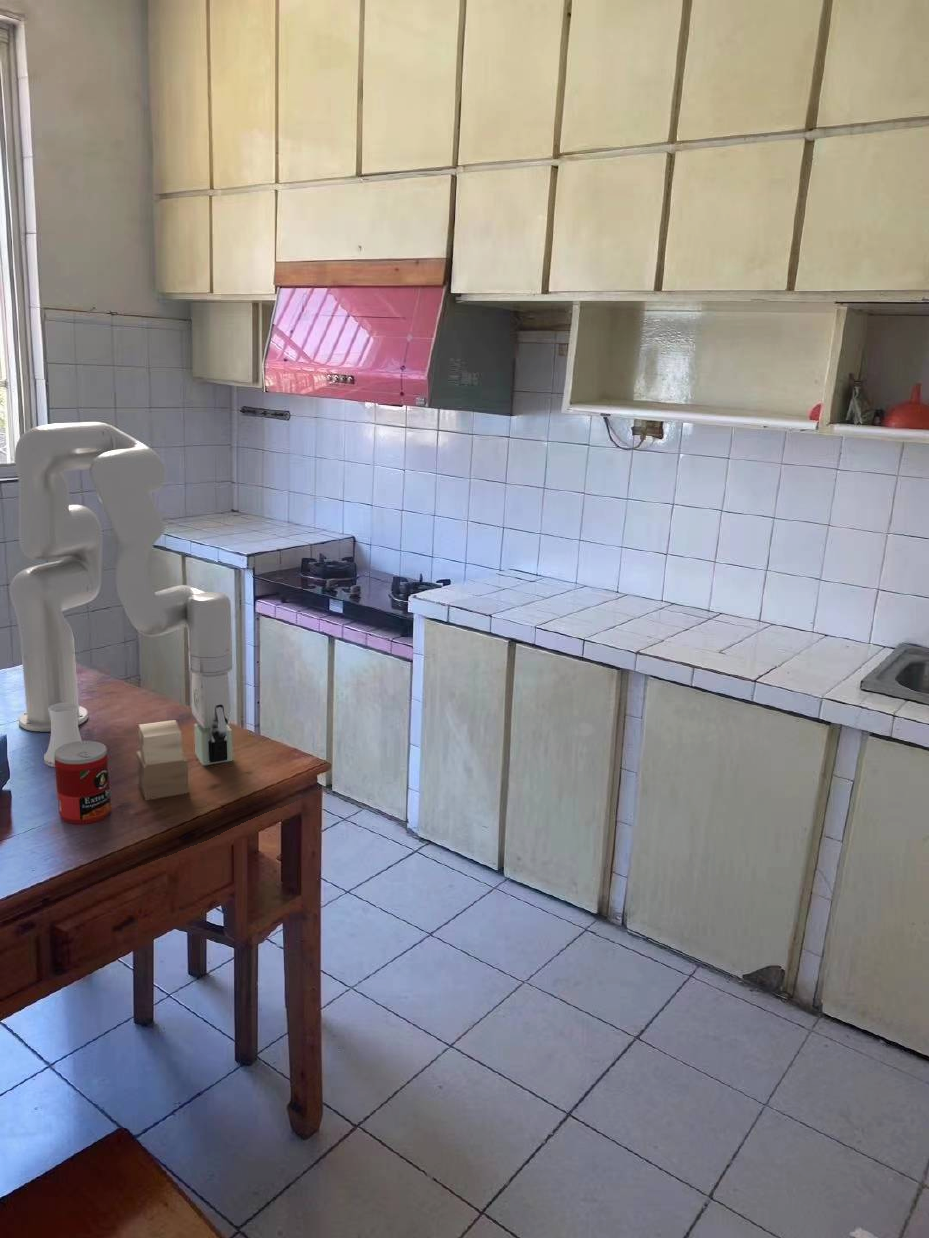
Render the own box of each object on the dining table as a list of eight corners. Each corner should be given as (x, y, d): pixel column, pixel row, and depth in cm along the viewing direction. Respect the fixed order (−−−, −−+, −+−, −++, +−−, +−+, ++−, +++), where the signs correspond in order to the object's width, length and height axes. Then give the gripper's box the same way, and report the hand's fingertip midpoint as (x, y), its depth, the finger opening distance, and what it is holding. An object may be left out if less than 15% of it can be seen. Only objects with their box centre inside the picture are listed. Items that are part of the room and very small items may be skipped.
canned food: (87, 829, 143) (82, 763, 140) (47, 818, 146) (42, 754, 143) (122, 808, 150) (118, 746, 147) (83, 798, 153) (78, 737, 150)
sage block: (195, 754, 171) (194, 724, 170) (224, 749, 174) (223, 719, 172) (202, 765, 167) (201, 734, 165) (232, 760, 169) (231, 730, 168)
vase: (48, 770, 162) (44, 717, 159) (40, 755, 168) (36, 703, 165) (93, 762, 166) (89, 710, 163) (84, 747, 172) (80, 697, 169)
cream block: (138, 783, 159) (136, 751, 157) (179, 776, 162) (178, 745, 161) (145, 800, 153) (144, 767, 151) (188, 793, 156) (187, 760, 155)
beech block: (140, 751, 157) (138, 724, 156) (176, 746, 160) (175, 719, 159) (145, 765, 152) (144, 737, 151) (182, 760, 155) (181, 732, 153)
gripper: (178, 650, 171) (182, 740, 176) (201, 678, 156) (205, 776, 161) (218, 645, 174) (221, 734, 179) (245, 673, 160) (247, 768, 165)
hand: (213, 753), depth 170 cm, fingers closed on sage block, 5 cm apart
